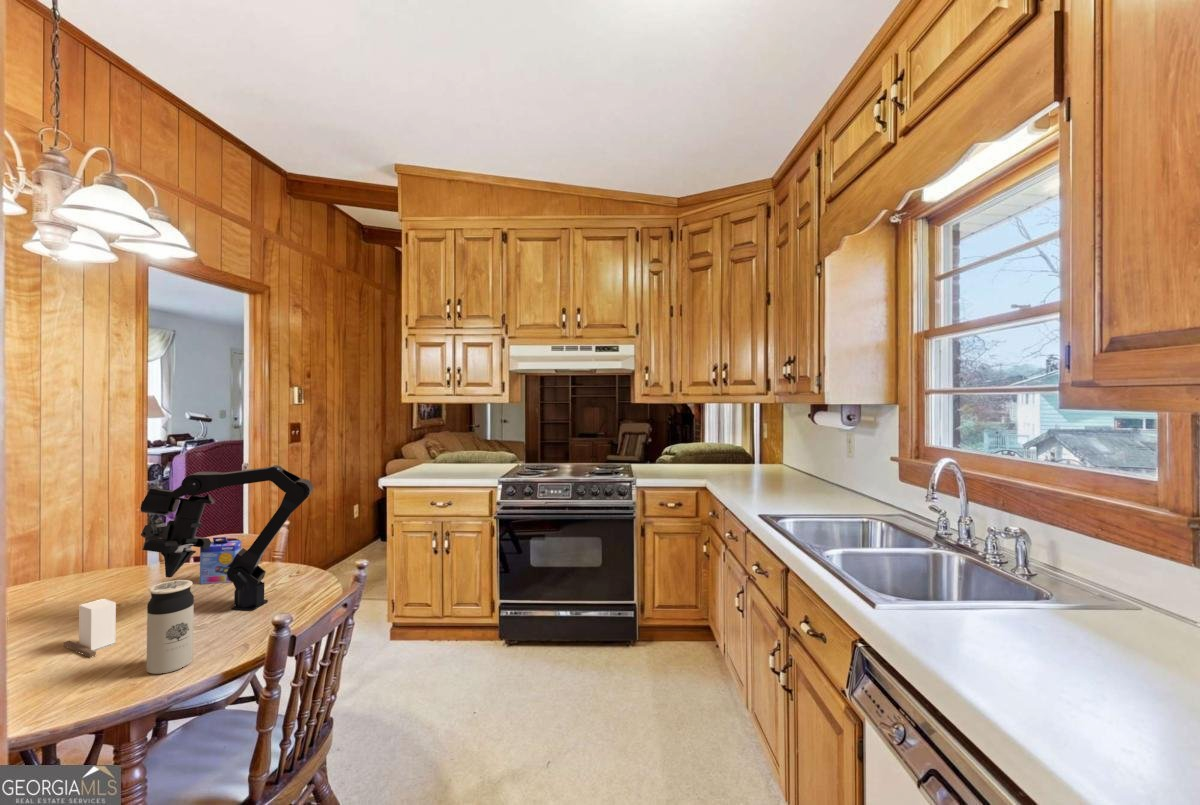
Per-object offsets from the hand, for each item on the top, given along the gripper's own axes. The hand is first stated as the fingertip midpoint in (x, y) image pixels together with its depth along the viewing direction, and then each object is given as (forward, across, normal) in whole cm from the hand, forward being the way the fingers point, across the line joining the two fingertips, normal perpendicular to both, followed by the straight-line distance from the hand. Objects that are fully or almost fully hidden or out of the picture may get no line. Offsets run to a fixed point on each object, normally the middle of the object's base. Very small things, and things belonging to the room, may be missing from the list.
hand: (168, 577), depth 138 cm
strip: (+16, +14, -6) cm, 22 cm away
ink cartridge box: (+5, -30, -2) cm, 31 cm away
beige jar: (+14, +22, +19) cm, 32 cm away
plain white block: (+15, +11, -4) cm, 19 cm away
